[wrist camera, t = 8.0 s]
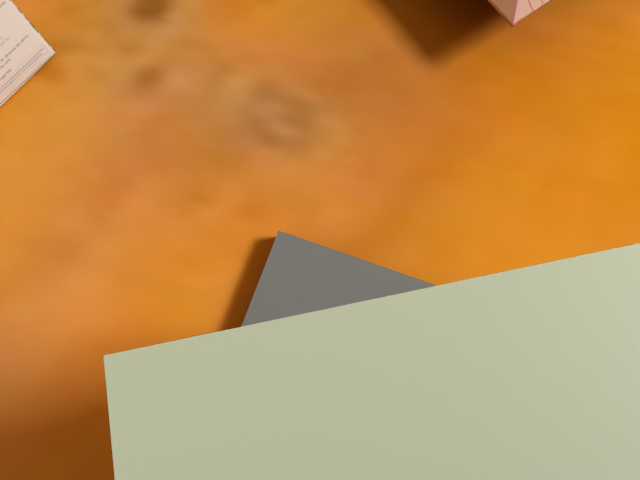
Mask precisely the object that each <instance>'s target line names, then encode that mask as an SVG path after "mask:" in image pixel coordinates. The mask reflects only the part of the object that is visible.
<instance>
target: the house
mask: <svg viewBox="0 0 640 480" xmlns="http://www.w3.org/2000/svg"><path fill="white" fill-rule="evenodd" d="M550 1H552V0H488V2H489V3H490V4H491V5H492V6H493V7H494V8H495V9H496V10H497V11H498V12H499V13H500V15H501V16H502V17H503V18H504V19H505V20H506V21H507V22H508V23H509V24H510V25H511V26H514V25H515V24H517V23H518V22H520V21H521V20H523V19H524V18H526V17H527V16H529V15H530V14H532V13H533V12H535V11H536V10H538V9H540V8H541V7H543V6H544V5H546V4H547V3H549V2H550Z"/></svg>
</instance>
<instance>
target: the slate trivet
mask: <svg viewBox="0 0 640 480" xmlns="http://www.w3.org/2000/svg"><path fill="white" fill-rule="evenodd" d="M433 286H436V285H433V284H431V283H428V282H425V281H422V280H419V279H416V278H413V277H410V276H408V275H405V274H402V273H399V272H396V271H393V270H390V269H387V268H385V267H382V266H379V265H376V264H373V263H370V262H367V261H364V260H362V259H359V258H356V257H353V256H350V255H347V254H344V253H341V252H339V251H336V250H333V249H330V248H327V247H324V246H321V245H318V244H316V243H313V242H310V241H307V240H304V239H301V238H298V237H295V236H292V235H290V234H287V233H284V232H281V231H278V233H277V236H276V238H275V241H274V244H273V246H272V249H271V251H270V254H269V256H268V259H267V262H266V264H265V267H264V269H263V272H262V274H261V277H260V280H259V282H258V285H257V287H256V290H255V292H254V295H253V297H252V300H251V303H250V305H249V308H248V310H247V313H246V315H245V318H244V321H243V323H242V326H247V325H252V324H257V323H261V322H266V321H271V320H276V319H281V318H285V317H290V316H295V315H300V314H304V313H309V312H314V311H319V310H324V309H328V308H333V307H338V306H343V305H347V304H352V303H357V302H362V301H367V300H371V299H376V298H381V297H386V296H390V295H395V294H400V293H405V292H410V291H414V290H419V289H424V288H429V287H433ZM242 326H241V327H242Z"/></svg>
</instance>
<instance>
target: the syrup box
mask: <svg viewBox="0 0 640 480" xmlns="http://www.w3.org/2000/svg"><path fill="white" fill-rule="evenodd" d="M54 54H55V50H54V49H53V48H52V47H51V46H50V45H49V44H48V43H47V42H46V40H45V39H44V38H43V37H42V36H41V35H40V33H39V32H38V31H37V30H36V29H35V28H34V26H33V25H32V24H31V23H30V22H29V21H28V19H27V18H26V17H25V16H24V15H23V14H22V12H21V11H20V10H19V9H18V8H17V7H16V6H15V4H14V3H13V2H12V1H11V0H0V106H1V105H2V104H4V103H5V102H6V101H7V100H8V99H9V98H10V97H11V96H12V95H13V94H14V93H15V92H16V91H17V90H18V89H19V88H20V87H21V86H22V85H24V84H25V83H26V82H27V81H28V80H29V79H30V78H31V77H32V76H33V75H34V74H35V73H36V72H37V71H38V70H39V69H40V68H41V67H42V66H43V65H44V64H45V63H46V62H47V61H48V60H49V59H50V58H51V57H52V56H53V55H54Z"/></svg>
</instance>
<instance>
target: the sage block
mask: <svg viewBox="0 0 640 480" xmlns="http://www.w3.org/2000/svg"><path fill="white" fill-rule="evenodd" d="M104 366H105V377H106V388H107V400H108V411H109V422H110V433H111V444H112V455H113V466H114V478H115V480H640V243H639V244H634V245H629V246H625V247H620V248H615V249H610V250H605V251H601V252H596V253H591V254H586V255H582V256H577V257H572V258H567V259H562V260H558V261H553V262H548V263H543V264H539V265H534V266H529V267H524V268H519V269H515V270H510V271H505V272H500V273H496V274H491V275H486V276H481V277H476V278H472V279H467V280H462V281H457V282H453V283H448V284H443V285H438V286H433V287H429V288H424V289H419V290H414V291H410V292H405V293H400V294H395V295H390V296H386V297H381V298H376V299H371V300H367V301H362V302H357V303H352V304H347V305H343V306H338V307H333V308H328V309H324V310H319V311H314V312H309V313H304V314H300V315H295V316H290V317H285V318H281V319H276V320H271V321H266V322H261V323H257V324H252V325H247V326H242V327H238V328H233V329H228V330H223V331H218V332H214V333H209V334H204V335H199V336H195V337H190V338H185V339H180V340H175V341H171V342H166V343H161V344H156V345H152V346H147V347H142V348H137V349H132V350H128V351H123V352H118V353H113V354H109V355H104Z"/></svg>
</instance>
